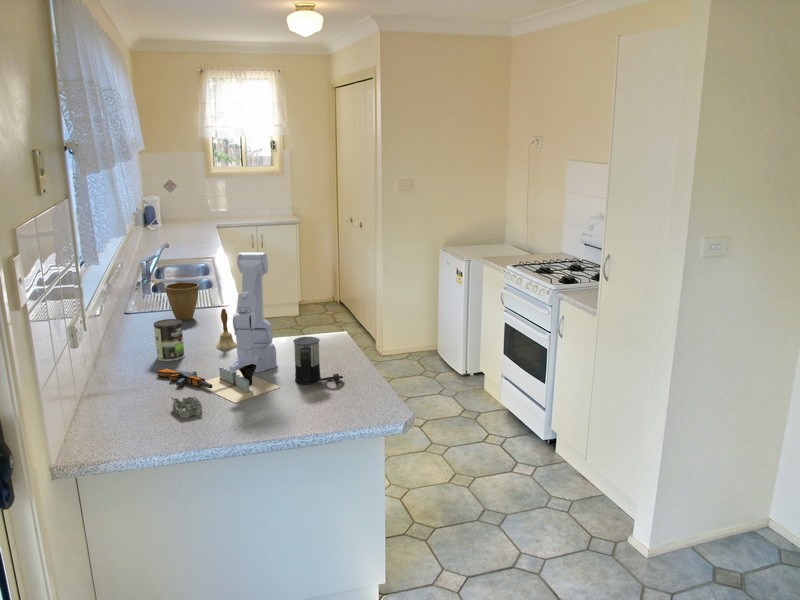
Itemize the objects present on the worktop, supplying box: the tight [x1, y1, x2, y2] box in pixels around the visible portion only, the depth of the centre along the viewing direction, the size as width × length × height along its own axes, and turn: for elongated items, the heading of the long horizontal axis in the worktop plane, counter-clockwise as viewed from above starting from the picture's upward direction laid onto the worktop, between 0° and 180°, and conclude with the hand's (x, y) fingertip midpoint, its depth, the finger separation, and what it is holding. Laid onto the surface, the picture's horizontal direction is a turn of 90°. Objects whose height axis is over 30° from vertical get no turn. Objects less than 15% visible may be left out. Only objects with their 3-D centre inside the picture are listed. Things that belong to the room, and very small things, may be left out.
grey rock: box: [171, 395, 203, 419], centre depth 206 cm, size 11×8×4 cm
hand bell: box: [215, 308, 237, 351], centre depth 267 cm, size 8×8×16 cm
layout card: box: [200, 370, 280, 404], centre depth 227 cm, size 18×24×1 cm
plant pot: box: [164, 281, 200, 322], centre depth 307 cm, size 15×15×16 cm
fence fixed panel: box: [218, 366, 234, 384], centre depth 230 cm, size 8×1×4 cm, turn 48°
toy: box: [156, 367, 213, 388], centre depth 230 cm, size 2×26×10 cm
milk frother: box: [293, 336, 344, 385], centre depth 230 cm, size 14×16×15 cm
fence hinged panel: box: [233, 372, 250, 392], centre depth 224 cm, size 10×1×4 cm, turn 40°
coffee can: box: [153, 318, 185, 362], centre depth 255 cm, size 10×10×14 cm
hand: (248, 385), depth 223 cm, fingers closed, pressing on fence hinged panel
